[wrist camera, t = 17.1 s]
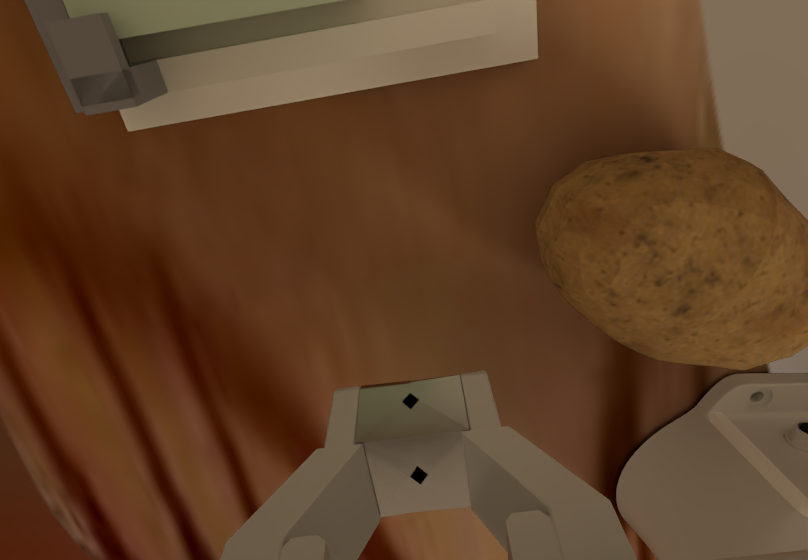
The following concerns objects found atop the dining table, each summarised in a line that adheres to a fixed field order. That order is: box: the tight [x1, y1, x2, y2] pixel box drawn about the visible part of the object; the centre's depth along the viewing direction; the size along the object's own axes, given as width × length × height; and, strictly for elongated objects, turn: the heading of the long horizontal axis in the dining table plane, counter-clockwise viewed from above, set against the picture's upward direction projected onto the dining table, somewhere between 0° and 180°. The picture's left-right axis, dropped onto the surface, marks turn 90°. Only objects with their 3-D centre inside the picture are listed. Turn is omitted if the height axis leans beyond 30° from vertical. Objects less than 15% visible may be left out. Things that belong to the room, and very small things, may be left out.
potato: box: [535, 148, 808, 370], centre depth 24 cm, size 10×14×8 cm
